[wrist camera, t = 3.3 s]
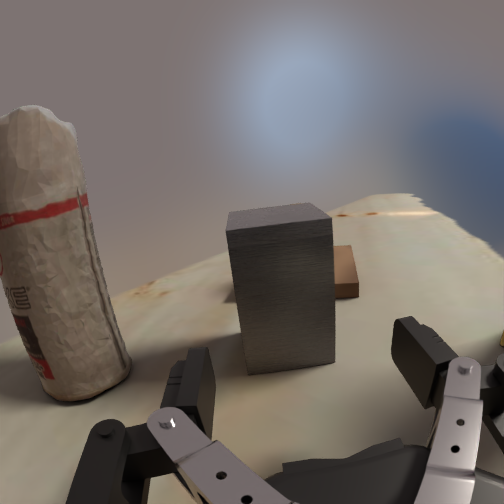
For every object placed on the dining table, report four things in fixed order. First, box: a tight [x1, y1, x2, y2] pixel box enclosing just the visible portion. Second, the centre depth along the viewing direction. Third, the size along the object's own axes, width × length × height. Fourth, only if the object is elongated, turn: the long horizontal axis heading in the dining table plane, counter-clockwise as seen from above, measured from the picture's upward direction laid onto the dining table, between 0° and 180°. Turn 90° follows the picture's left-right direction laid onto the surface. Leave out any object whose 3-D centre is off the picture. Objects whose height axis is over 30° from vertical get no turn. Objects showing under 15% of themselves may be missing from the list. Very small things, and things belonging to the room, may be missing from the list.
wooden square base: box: [290, 203, 359, 298], centre depth 35 cm, size 12×12×8 cm
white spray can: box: [0, 105, 132, 401], centre depth 19 cm, size 8×8×20 cm
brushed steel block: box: [226, 203, 335, 375], centre depth 22 cm, size 6×6×10 cm
